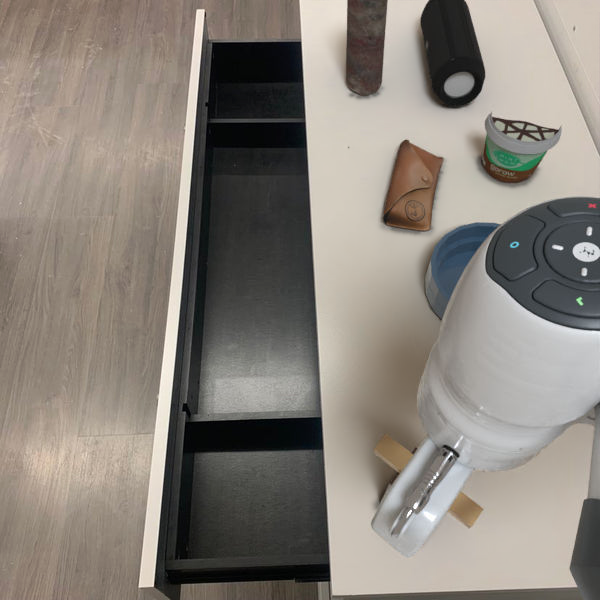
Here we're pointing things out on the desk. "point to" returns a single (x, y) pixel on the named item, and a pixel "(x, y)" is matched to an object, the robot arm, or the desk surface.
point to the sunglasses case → (412, 188)
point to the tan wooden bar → (398, 459)
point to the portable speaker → (452, 52)
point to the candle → (365, 44)
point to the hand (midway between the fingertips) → (448, 455)
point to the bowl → (453, 261)
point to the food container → (515, 148)
